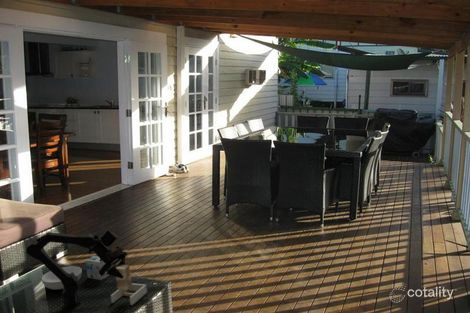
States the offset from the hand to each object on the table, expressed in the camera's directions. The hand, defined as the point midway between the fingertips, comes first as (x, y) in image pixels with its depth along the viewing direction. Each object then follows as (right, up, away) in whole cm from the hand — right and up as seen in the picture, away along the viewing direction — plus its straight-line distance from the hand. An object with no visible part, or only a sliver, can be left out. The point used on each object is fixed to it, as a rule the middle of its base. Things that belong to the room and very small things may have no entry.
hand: (125, 275), depth 230 cm
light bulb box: (-23, -10, +34) cm, 43 cm away
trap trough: (+1, -12, +6) cm, 14 cm away
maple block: (-1, -7, +2) cm, 7 cm away
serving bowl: (-40, -13, +27) cm, 50 cm away
